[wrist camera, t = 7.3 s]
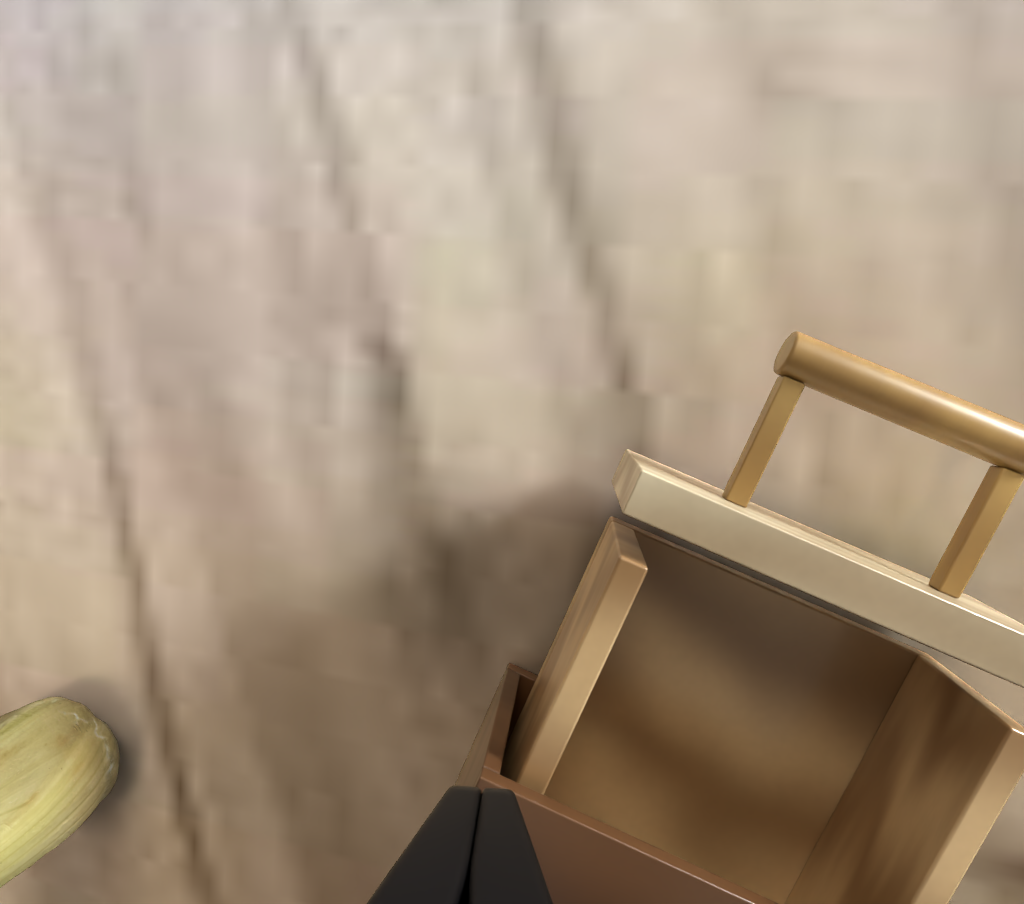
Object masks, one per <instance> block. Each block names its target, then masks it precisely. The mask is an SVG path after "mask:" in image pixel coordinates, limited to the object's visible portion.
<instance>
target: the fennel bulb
mask: <svg viewBox="0 0 1024 904" xmlns="http://www.w3.org/2000/svg"><path fill="white" fill-rule="evenodd" d="M119 759H120V754H119V749H118V743H117V740H116V738H115V737H114V735H113V733H112V731H111V730H110V728H109V727H108V725H107V724H106V723H105V722H103V721H101V720H100V719H98V718H96V717H95V716H94V715H93V714H92V712H91V711H90V710H89V709H88V708H87V707H86V706H84V705H82V704H81V703H79V702H74V701H71V700H69V699H66V698H63V697H48V698H46V699H42V700H38V701H35V702H33V703H30V704H28V705H26V706H24V707H22V708H20V709H17V710H15V711H12V712H9V713H7V714H5V715H3V716H1V717H0V888H1V887H2V886H3V885H4V884H6V883H7V882H9V881H10V880H11V879H13V878H14V877H16V876H17V875H19V874H20V873H21V872H23V871H24V870H26V869H27V868H29V867H31V866H32V865H33V864H34V863H35V862H36V861H37V860H39V859H40V858H41V857H43V856H44V855H45V854H47V853H48V852H50V851H51V850H53V849H54V848H56V847H57V846H58V845H59V844H61V843H62V842H63V841H64V840H65V839H67V838H68V837H69V836H70V835H71V834H72V833H74V832H75V831H76V829H78V828H79V826H81V825H82V824H83V822H84V821H85V820H87V818H88V817H89V816H90V815H91V813H92V812H93V811H94V810H95V809H96V807H97V805H98V804H99V803H100V802H101V801H102V800H103V799H104V798H105V797H106V796H107V795H108V794H109V793H110V791H111V789H112V788H113V786H114V784H115V782H116V780H117V775H118V770H119Z"/></svg>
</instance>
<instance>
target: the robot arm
mask: <svg viewBox="0 0 1024 904" xmlns="http://www.w3.org/2000/svg"><path fill="white" fill-rule="evenodd" d="M367 904H553V901H552V899H551V896H550V893H549V890H548V887H547V884H546V881H545V878H544V876H543V873H542V870H541V867H540V864H539V861H538V858H537V855H536V853H535V850H534V847H533V844H532V841H531V838H530V835H529V832H528V830H527V827H526V824H525V821H524V818H523V815H522V812H521V809H520V807H519V804H518V801H517V798H516V795H515V793H514V792H513V791H512V790H510V789H500V788H485V789H484V790H483V792H481V790H480V789H479V788H478V787H471V786H456V785H455V786H452V787H450V788H449V789H448V790H447V792H446V793H445V794H444V796H443V797H442V799H441V800H440V801H439V803H438V804H437V806H436V807H435V808H434V810H433V811H432V813H431V814H430V815H429V817H428V818H427V820H426V821H425V822H424V824H423V825H422V827H421V828H420V830H419V831H418V832H417V834H416V835H415V837H414V838H413V839H412V841H411V842H410V844H409V845H408V846H407V848H406V849H405V851H404V852H403V853H402V855H401V856H400V858H399V859H398V860H397V862H396V863H395V865H394V866H393V867H392V869H391V870H390V872H389V873H388V875H387V876H386V877H385V879H384V880H383V882H382V883H381V884H380V886H379V887H378V889H377V890H376V891H375V893H374V894H373V896H372V897H371V898H370V900H369V901H368V903H367Z"/></svg>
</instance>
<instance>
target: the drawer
mask: <svg viewBox="0 0 1024 904" xmlns="http://www.w3.org/2000/svg"><path fill="white" fill-rule="evenodd" d="M774 372H775V373H776V374H778V375H780V376H781V377H778V378H777V380H776V382H775V384H774V386H773V388H772V391H771V393H770V395H769V397H768V399H767V401H766V403H765V405H764V407H763V409H762V412H761V414H760V416H759V418H758V420H757V422H756V424H755V426H754V428H753V431H752V433H751V435H750V437H749V439H748V441H747V443H746V445H745V447H744V449H743V452H742V454H741V456H740V458H739V460H738V462H737V464H736V466H735V468H734V471H733V473H732V475H731V477H730V479H729V481H728V483H727V485H726V487H725V489H724V490H722V489H719V488H717V487H715V486H712V485H710V484H708V483H705V482H703V481H701V480H698V479H696V478H694V477H691V476H689V475H687V474H684V473H682V472H680V471H677V470H675V469H673V468H670V467H668V466H666V465H663V464H661V463H659V462H656V461H654V460H652V459H649V458H647V457H645V456H642V455H640V454H638V453H635V452H633V451H631V450H628V449H626V450H625V453H624V455H623V457H622V459H621V461H620V464H619V466H618V468H617V470H616V473H615V475H614V477H613V479H612V483H613V486H614V489H615V492H616V495H617V498H618V501H619V504H620V507H621V510H622V513H623V514H625V515H627V516H629V517H632V518H634V519H636V520H638V521H641V522H643V523H645V524H648V525H650V526H652V527H655V528H657V529H659V530H661V531H664V532H666V533H668V534H671V535H673V536H675V537H678V538H680V539H682V540H684V541H687V542H689V543H691V544H694V545H696V546H698V547H701V548H703V549H705V550H707V551H710V552H712V553H714V554H717V555H719V556H721V557H724V558H726V559H728V560H730V561H733V562H735V563H737V564H740V565H742V566H744V567H747V568H749V569H751V570H753V571H756V572H758V573H760V574H763V575H765V576H767V577H770V578H772V579H774V580H776V581H779V582H781V583H783V584H786V585H788V586H790V587H793V588H795V589H797V590H799V591H802V592H804V593H806V594H809V595H811V596H813V597H816V598H818V599H820V600H822V601H825V602H827V603H829V604H832V605H834V606H836V607H839V608H841V609H843V610H845V611H848V612H850V613H852V614H855V615H857V616H859V617H862V618H864V619H866V620H868V621H871V622H873V623H875V624H878V625H880V626H882V627H885V628H887V629H889V630H891V631H894V632H896V633H898V634H901V635H903V636H905V637H908V638H910V639H912V640H914V641H917V642H919V643H921V644H924V645H926V646H928V647H931V648H933V649H935V650H937V651H940V652H942V653H944V654H947V655H949V656H951V657H954V658H956V659H958V660H960V661H963V662H965V663H967V664H970V665H972V666H974V667H977V668H979V669H981V670H983V671H986V672H988V673H990V674H993V675H995V676H997V677H999V678H1002V679H1004V680H1006V681H1009V682H1011V683H1013V684H1016V685H1018V686H1020V687H1022V688H1024V625H1023V624H1021V623H1019V622H1017V621H1016V620H1014V619H1012V618H1010V617H1008V616H1006V615H1004V614H1003V613H1001V612H999V611H997V610H995V609H993V608H991V607H990V606H988V605H986V604H984V603H982V602H980V601H978V600H977V599H975V598H973V597H971V596H969V595H967V594H964V593H962V592H963V590H964V589H965V587H966V585H967V583H968V581H969V579H970V577H971V576H972V574H973V572H974V570H975V568H976V566H977V564H978V563H979V561H980V559H981V557H982V555H983V553H984V551H985V550H986V548H987V546H988V544H989V542H990V540H991V538H992V537H993V535H994V533H995V531H996V529H997V527H998V525H999V524H1000V522H1001V520H1002V518H1003V516H1004V514H1005V512H1006V511H1007V509H1008V507H1009V505H1010V503H1011V501H1012V499H1013V498H1014V496H1015V494H1016V492H1017V490H1018V488H1019V486H1020V485H1021V483H1022V481H1023V479H1024V425H1023V424H1021V423H1018V422H1016V421H1013V420H1011V419H1009V418H1006V417H1004V416H1001V415H999V414H996V413H994V412H992V411H989V410H987V409H984V408H982V407H979V406H977V405H975V404H972V403H970V402H967V401H965V400H962V399H960V398H958V397H955V396H953V395H950V394H948V393H946V392H943V391H941V390H938V389H936V388H933V387H931V386H929V385H926V384H924V383H921V382H919V381H916V380H914V379H912V378H909V377H907V376H904V375H902V374H899V373H897V372H895V371H892V370H890V369H887V368H885V367H882V366H880V365H878V364H875V363H873V362H870V361H868V360H865V359H863V358H861V357H858V356H856V355H853V354H851V353H849V352H846V351H844V350H841V349H839V348H836V347H834V346H832V345H829V344H827V343H824V342H822V341H819V340H817V339H815V338H812V337H810V336H807V335H805V334H802V333H800V332H793V333H792V334H791V335H790V336H789V337H788V338H787V339H786V341H785V342H784V343H783V345H782V347H781V349H780V350H779V353H778V355H777V357H776V360H775V363H774ZM805 386H807V387H809V388H811V389H814V390H816V391H819V392H821V393H823V394H826V395H828V396H831V397H833V398H835V399H838V400H840V401H843V402H845V403H847V404H850V405H852V406H855V407H857V408H859V409H862V410H864V411H867V412H869V413H871V414H874V415H876V416H879V417H881V418H883V419H886V420H888V421H891V422H893V423H895V424H898V425H900V426H903V427H905V428H907V429H910V430H912V431H915V432H917V433H919V434H922V435H924V436H927V437H929V438H931V439H934V440H936V441H939V442H941V443H943V444H946V445H948V446H951V447H953V448H955V449H958V450H960V451H963V452H965V453H967V454H970V455H972V456H975V457H977V458H979V459H982V460H984V461H987V462H989V463H991V464H994V465H996V466H991V467H990V468H989V470H988V472H987V473H986V475H985V477H984V479H983V481H982V483H981V485H980V487H979V489H978V490H977V492H976V494H975V496H974V498H973V500H972V502H971V504H970V505H969V507H968V509H967V511H966V513H965V515H964V517H963V519H962V521H961V522H960V524H959V526H958V528H957V530H956V532H955V534H954V536H953V538H952V539H951V541H950V543H949V545H948V547H947V549H946V551H945V553H944V555H943V556H942V558H941V560H940V562H939V564H938V566H937V568H936V570H935V572H934V573H933V575H932V577H931V579H929V578H927V577H925V576H922V575H920V574H918V573H915V572H913V571H911V570H908V569H906V568H904V567H901V566H899V565H897V564H894V563H892V562H890V561H887V560H885V559H883V558H880V557H878V556H876V555H873V554H871V553H869V552H866V551H864V550H862V549H859V548H857V547H855V546H852V545H850V544H848V543H845V542H843V541H841V540H838V539H836V538H834V537H831V536H829V535H827V534H824V533H822V532H820V531H817V530H815V529H813V528H810V527H808V526H806V525H803V524H801V523H799V522H796V521H794V520H792V519H789V518H787V517H785V516H782V515H780V514H778V513H775V512H773V511H771V510H768V509H766V508H764V507H761V506H759V505H757V504H754V503H752V502H750V499H751V497H752V495H753V493H754V490H755V488H756V486H757V484H758V482H759V480H760V478H761V476H762V474H763V472H764V470H765V468H766V466H767V463H768V461H769V459H770V457H771V455H772V453H773V451H774V449H775V447H776V445H777V443H778V441H779V439H780V436H781V434H782V432H783V430H784V428H785V426H786V424H787V422H788V420H789V418H790V416H791V414H792V412H793V409H794V407H795V405H796V403H797V401H798V399H799V397H800V395H801V393H802V391H803V389H804V387H805ZM1023 772H1024V727H1022V726H1021V725H1020V724H1018V723H1017V722H1016V721H1015V720H1013V719H1012V718H1011V717H1009V716H1008V715H1007V714H1005V713H1004V712H1003V711H1002V710H1000V709H999V708H998V707H996V706H995V705H994V704H992V703H991V702H990V701H989V700H987V699H986V698H985V697H983V696H982V695H981V694H979V693H978V692H977V691H976V690H974V689H973V688H972V687H970V686H969V685H968V684H966V683H965V682H964V681H963V680H961V679H960V678H959V677H957V676H956V675H955V674H953V673H952V672H951V671H950V670H948V669H947V668H946V667H944V666H943V665H942V664H940V663H939V662H938V661H936V660H935V659H934V658H933V657H931V656H930V655H929V654H927V653H925V652H923V651H921V650H918V649H916V648H914V647H911V646H909V645H907V644H905V643H902V642H900V641H898V640H895V639H893V638H891V637H888V636H886V635H884V634H882V633H879V632H877V631H875V630H872V629H870V628H868V627H866V626H863V625H861V624H859V623H856V622H854V621H852V620H849V619H847V618H845V617H843V616H840V615H838V614H836V613H833V612H831V611H829V610H826V609H824V608H822V607H820V606H817V605H815V604H813V603H810V602H808V601H806V600H803V599H801V598H799V597H797V596H794V595H792V594H790V593H787V592H785V591H783V590H781V589H778V588H776V587H774V586H771V585H769V584H767V583H764V582H762V581H760V580H758V579H755V578H753V577H751V576H748V575H746V574H744V573H741V572H739V571H737V570H735V569H732V568H730V567H728V566H725V565H723V564H721V563H719V562H716V561H714V560H712V559H709V558H707V557H705V556H702V555H700V554H698V553H696V552H693V551H691V550H689V549H686V548H684V547H682V546H679V545H677V544H675V543H673V542H670V541H668V540H666V539H663V538H661V537H659V536H657V535H654V534H652V533H650V532H647V531H645V530H643V529H640V528H638V527H636V526H634V525H631V524H629V523H627V522H624V521H622V520H620V519H617V518H615V517H610V518H609V520H608V522H607V524H606V526H605V528H604V531H603V533H602V535H601V537H600V539H599V542H598V544H597V546H596V548H595V551H594V553H593V555H592V557H591V559H590V562H589V564H588V566H587V568H586V570H585V573H584V575H583V577H582V579H581V581H580V584H579V586H578V588H577V590H576V593H575V595H574V597H573V599H572V601H571V604H570V606H569V608H568V610H567V612H566V615H565V617H564V619H563V621H562V623H561V626H560V628H559V630H558V632H557V634H556V637H555V639H554V641H553V643H552V646H551V648H550V650H549V652H548V654H547V657H546V659H545V661H544V663H543V665H542V668H541V670H540V672H539V674H538V676H537V679H536V681H535V683H534V685H533V688H532V690H531V692H530V694H529V696H528V699H527V701H526V703H525V705H524V707H523V710H522V712H521V714H520V716H519V718H518V721H517V723H516V725H515V727H514V729H513V732H512V734H511V736H510V738H509V741H508V743H507V745H506V747H505V752H504V756H503V761H502V766H501V771H500V775H502V776H504V777H506V778H508V779H511V780H513V781H515V782H517V783H519V784H521V785H523V786H526V787H528V788H530V789H532V790H534V791H536V792H539V793H541V794H543V795H545V796H547V797H549V798H552V799H554V800H556V801H558V802H560V803H562V804H565V805H567V806H569V807H571V808H573V809H575V810H577V811H580V812H582V813H584V814H586V815H588V816H590V817H593V818H595V819H597V820H599V821H601V822H603V823H606V824H608V825H610V826H612V827H614V828H616V829H619V830H621V831H623V832H625V833H627V834H629V835H631V836H634V837H636V838H638V839H640V840H642V841H644V842H647V843H649V844H651V845H653V846H655V847H657V848H660V849H662V850H664V851H666V852H668V853H670V854H673V855H675V856H677V857H679V858H681V859H683V860H685V861H688V862H690V863H692V864H694V865H696V866H698V867H701V868H703V869H705V870H707V871H709V872H711V873H714V874H716V875H718V876H720V877H722V878H724V879H727V880H729V881H731V882H733V883H735V884H737V885H739V886H742V887H744V888H746V889H748V890H750V891H752V892H755V893H757V894H759V895H761V896H763V897H765V898H768V899H770V900H772V901H774V902H776V903H778V904H948V902H949V901H950V899H951V897H952V895H953V894H954V892H955V890H956V888H957V887H958V885H959V883H960V881H961V880H962V878H963V876H964V874H965V873H966V871H967V869H968V867H969V866H970V864H971V862H972V861H973V859H974V857H975V855H976V854H977V852H978V850H979V848H980V847H981V845H982V843H983V841H984V840H985V838H986V836H987V834H988V833H989V831H990V829H991V828H992V826H993V824H994V822H995V821H996V819H997V817H998V815H999V814H1000V812H1001V810H1002V808H1003V807H1004V805H1005V803H1006V801H1007V800H1008V798H1009V796H1010V794H1011V793H1012V791H1013V789H1014V788H1015V786H1016V784H1017V782H1018V781H1019V779H1020V777H1021V775H1022V774H1023Z"/></svg>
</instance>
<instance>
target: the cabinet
mask: <svg viewBox="0 0 1024 904" xmlns="http://www.w3.org/2000/svg"><path fill="white" fill-rule="evenodd" d="M537 676H538V675H536V674H533V673H531V672H529V671H527V670H525V669H522V668H520V667H518V666H516V665H514V664H511V663H509V664H508V666H507V668H506V671H505V673H504V675H503V677H502V680H501V682H500V684H499V686H498V689H497V691H496V693H495V695H494V698H493V700H492V702H491V704H490V707H489V709H488V711H487V713H486V716H485V718H484V720H483V722H482V725H481V727H480V729H479V731H478V734H477V736H476V738H475V740H474V743H473V745H472V747H471V749H470V752H469V754H468V756H467V758H466V761H465V763H464V765H463V767H462V770H461V772H460V774H459V776H458V779H457V781H456V783H455V785H456V786H471V787H478V788H479V789H480V790H481V792H483V790H484V789H485V788H500V789H510V790H512V791H513V792H514V793H515V795H516V798H517V801H518V804H519V807H520V809H521V812H522V815H523V818H524V821H525V824H526V827H527V830H528V832H529V835H530V838H531V841H532V844H533V847H534V850H535V853H536V855H537V858H538V861H539V864H540V867H541V870H542V873H543V876H544V878H545V881H546V884H547V887H548V890H549V893H550V896H551V899H552V901H553V904H778V903H776V902H774V901H772V900H770V899H768V898H765V897H763V896H761V895H759V894H757V893H755V892H752V891H750V890H748V889H746V888H744V887H742V886H739V885H737V884H735V883H733V882H731V881H729V880H727V879H724V878H722V877H720V876H718V875H716V874H714V873H711V872H709V871H707V870H705V869H703V868H701V867H698V866H696V865H694V864H692V863H690V862H688V861H685V860H683V859H681V858H679V857H677V856H675V855H673V854H670V853H668V852H666V851H664V850H662V849H660V848H657V847H655V846H653V845H651V844H649V843H647V842H644V841H642V840H640V839H638V838H636V837H634V836H631V835H629V834H627V833H625V832H623V831H621V830H619V829H616V828H614V827H612V826H610V825H608V824H606V823H603V822H601V821H599V820H597V819H595V818H593V817H590V816H588V815H586V814H584V813H582V812H580V811H577V810H575V809H573V808H571V807H569V806H567V805H565V804H562V803H560V802H558V801H556V800H554V799H552V798H549V797H547V796H545V795H543V794H541V793H539V792H536V791H534V790H532V789H530V788H528V787H526V786H523V785H521V784H519V783H517V782H515V781H513V780H511V779H508V778H506V777H504V776H502V775H500V771H501V766H502V761H503V756H504V752H505V747H506V745H507V743H508V741H509V738H510V736H511V734H512V732H513V729H514V727H515V725H516V723H517V721H518V718H519V716H520V714H521V712H522V710H523V707H524V705H525V703H526V701H527V699H528V696H529V694H530V692H531V690H532V688H533V685H534V683H535V681H536V679H537ZM455 785H454V786H455Z"/></svg>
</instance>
